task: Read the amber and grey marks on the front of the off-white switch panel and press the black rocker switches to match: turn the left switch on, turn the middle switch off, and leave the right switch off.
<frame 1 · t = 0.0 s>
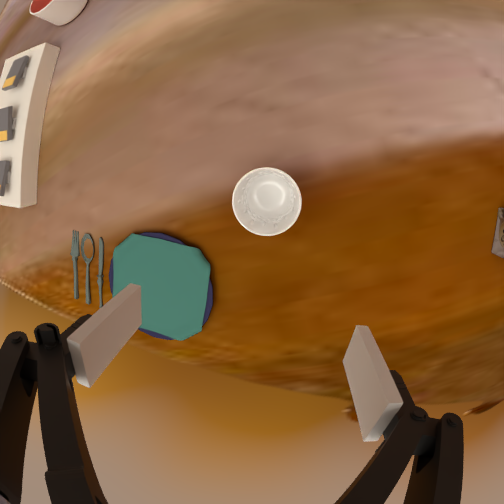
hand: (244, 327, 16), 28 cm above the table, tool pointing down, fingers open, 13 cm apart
coffee box: (503, 231, 38), on the table
cup: (73, 9, 33), on the table
switch middle: (4, 124, 34), point 7 cm above the table, hinge at 12.0°
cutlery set: (136, 278, 48), on the table
switch panel: (22, 126, 41), on the table
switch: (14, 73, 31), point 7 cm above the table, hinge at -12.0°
white cup: (269, 194, 42), on the table
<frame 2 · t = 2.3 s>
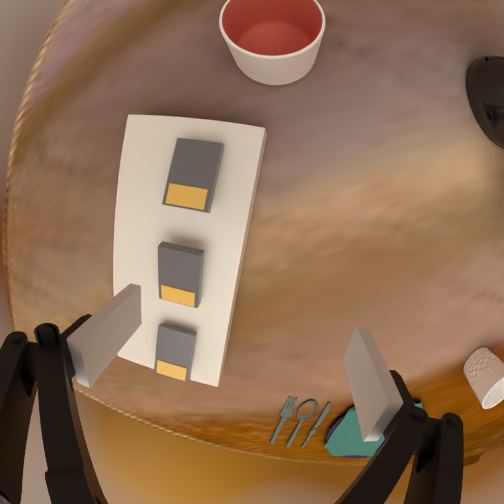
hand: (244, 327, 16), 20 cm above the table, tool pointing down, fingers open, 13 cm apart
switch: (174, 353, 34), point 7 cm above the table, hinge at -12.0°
cup: (275, 54, 29), on the table
switch middle: (179, 276, 30), point 7 cm above the table, hinge at 12.0°
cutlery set: (351, 423, 45), on the table
switch panel: (183, 253, 37), on the table
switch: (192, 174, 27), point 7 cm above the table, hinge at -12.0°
white cup: (475, 360, 38), on the table
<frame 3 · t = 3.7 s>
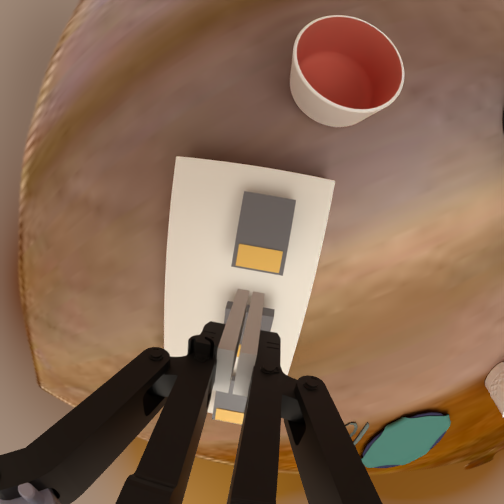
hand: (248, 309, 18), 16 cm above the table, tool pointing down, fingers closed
cup: (331, 89, 28), on the table
switch middle: (246, 333, 30), point 7 cm above the table, hinge at 12.0°
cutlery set: (385, 438, 44), on the table
switch panel: (236, 301, 36), on the table
white cup: (495, 373, 37), on the table
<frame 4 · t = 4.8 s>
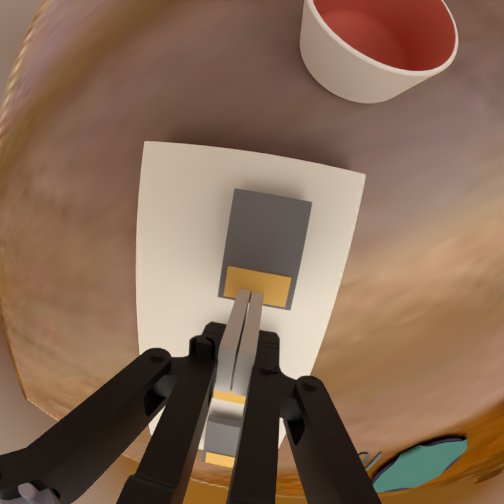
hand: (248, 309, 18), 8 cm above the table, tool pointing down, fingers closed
cup: (354, 56, 19), on the table
switch middle: (240, 377, 22), point 7 cm above the table, hinge at 12.0°
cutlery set: (397, 463, 36), on the table
switch panel: (231, 327, 28), on the table
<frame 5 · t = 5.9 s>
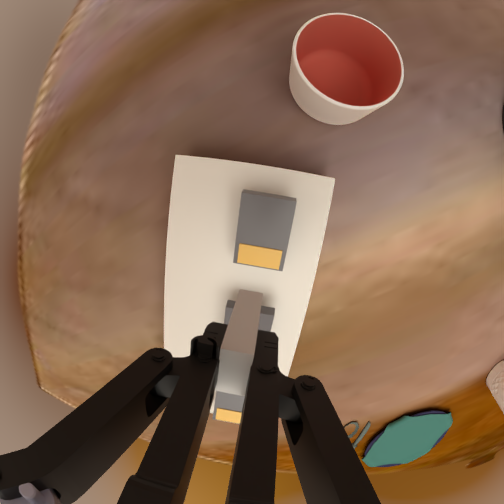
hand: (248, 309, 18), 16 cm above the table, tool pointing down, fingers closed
cup: (331, 87, 28), on the table
switch middle: (246, 332, 29), point 7 cm above the table, hinge at 12.0°
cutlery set: (387, 437, 43), on the table
switch panel: (236, 300, 36), on the table
white cup: (496, 372, 37), on the table
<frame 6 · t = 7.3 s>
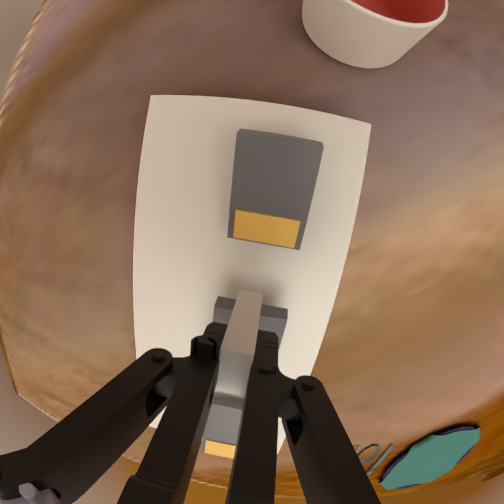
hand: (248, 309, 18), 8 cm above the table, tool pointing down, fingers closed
cup: (353, 29, 19), on the table
switch middle: (245, 345, 20), point 7 cm above the table, hinge at 10.4°, touching gripper
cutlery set: (408, 457, 34), on the table
switch panel: (233, 299, 27), on the table
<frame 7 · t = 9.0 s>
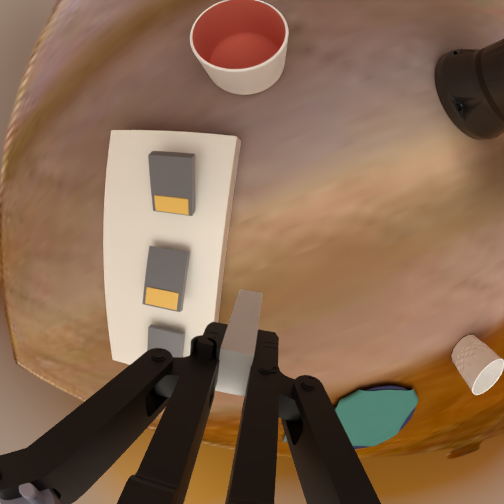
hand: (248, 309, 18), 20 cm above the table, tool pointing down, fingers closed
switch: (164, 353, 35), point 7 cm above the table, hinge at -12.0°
cup: (246, 64, 31), on the table
switch middle: (165, 278, 32), point 7 cm above the table, hinge at -16.4°
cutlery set: (345, 414, 47), on the table
switch panel: (169, 258, 39), on the table
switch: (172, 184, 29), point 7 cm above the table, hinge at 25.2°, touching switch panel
white cup: (463, 348, 41), on the table
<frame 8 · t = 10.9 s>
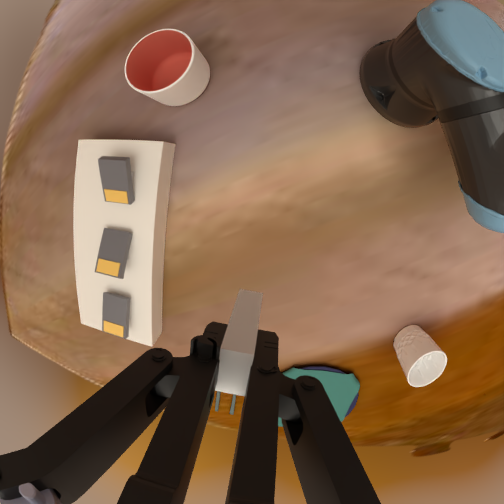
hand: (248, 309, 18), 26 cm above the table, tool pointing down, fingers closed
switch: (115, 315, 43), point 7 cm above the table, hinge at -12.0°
cup: (181, 79, 38), on the table
switch middle: (112, 252, 39), point 7 cm above the table, hinge at -25.1°, touching switch panel
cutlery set: (287, 393, 53), on the table
switch panel: (124, 239, 46), on the table
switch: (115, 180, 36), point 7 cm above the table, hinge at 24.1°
white cup: (407, 338, 47), on the table
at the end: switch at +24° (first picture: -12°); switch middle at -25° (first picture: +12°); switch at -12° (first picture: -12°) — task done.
